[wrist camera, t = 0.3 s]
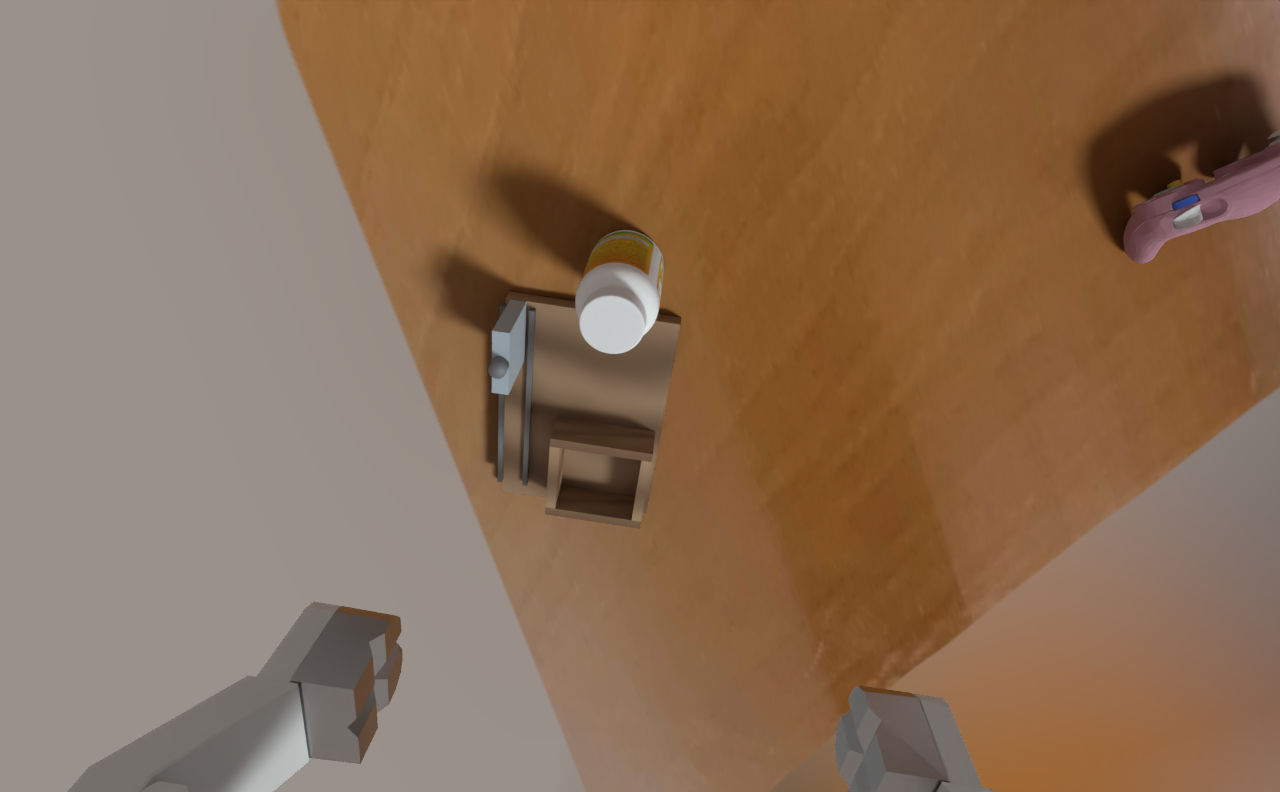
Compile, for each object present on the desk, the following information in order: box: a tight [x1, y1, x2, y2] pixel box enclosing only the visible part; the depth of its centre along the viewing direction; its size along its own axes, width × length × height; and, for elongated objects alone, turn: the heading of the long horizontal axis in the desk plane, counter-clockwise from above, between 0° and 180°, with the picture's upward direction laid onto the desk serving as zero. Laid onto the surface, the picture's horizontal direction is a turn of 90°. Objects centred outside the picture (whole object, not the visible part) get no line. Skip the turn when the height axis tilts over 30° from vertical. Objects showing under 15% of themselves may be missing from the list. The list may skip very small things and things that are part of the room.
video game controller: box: [1123, 130, 1280, 264], centre depth 39 cm, size 10×5×7 cm, turn 120°
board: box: [498, 291, 681, 529], centre depth 53 cm, size 19×13×4 cm
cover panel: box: [488, 299, 527, 395], centre depth 47 cm, size 5×1×6 cm, turn 172°
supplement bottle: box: [575, 230, 664, 354], centre depth 43 cm, size 5×5×10 cm
